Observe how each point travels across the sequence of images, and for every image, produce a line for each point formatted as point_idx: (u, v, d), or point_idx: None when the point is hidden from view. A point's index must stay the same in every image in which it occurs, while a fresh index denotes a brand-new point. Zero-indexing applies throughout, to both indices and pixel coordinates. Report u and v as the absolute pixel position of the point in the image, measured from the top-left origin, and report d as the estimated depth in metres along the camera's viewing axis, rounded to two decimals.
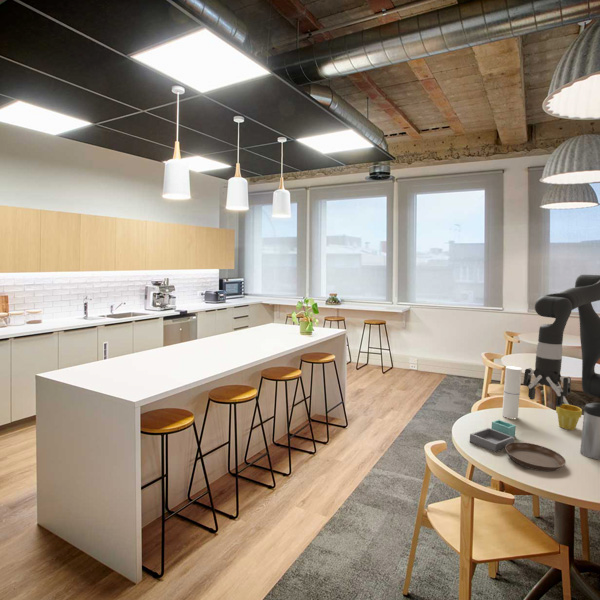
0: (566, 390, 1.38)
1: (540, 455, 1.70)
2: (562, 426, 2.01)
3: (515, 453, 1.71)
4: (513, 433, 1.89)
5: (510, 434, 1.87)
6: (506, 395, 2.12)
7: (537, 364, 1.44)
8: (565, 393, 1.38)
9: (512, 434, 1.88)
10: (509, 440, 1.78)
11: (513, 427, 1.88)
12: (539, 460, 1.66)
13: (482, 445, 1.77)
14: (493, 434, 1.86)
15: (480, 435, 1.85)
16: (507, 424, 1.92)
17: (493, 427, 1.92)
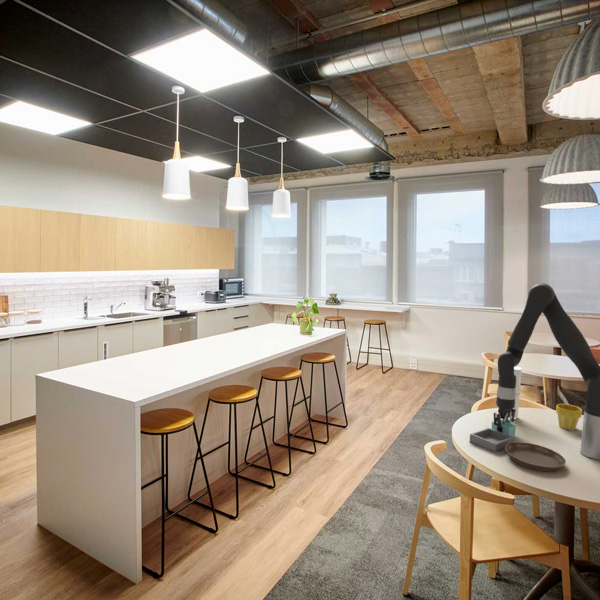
0: (513, 418, 1.93)
1: (540, 455, 1.70)
2: (562, 426, 2.01)
3: (515, 453, 1.71)
4: (513, 433, 1.89)
5: (510, 434, 1.87)
6: None
7: (510, 405, 1.86)
8: (513, 420, 1.93)
9: (512, 434, 1.88)
10: (509, 440, 1.78)
11: (513, 427, 1.88)
12: (539, 460, 1.66)
13: (482, 445, 1.77)
14: (493, 434, 1.86)
15: (480, 435, 1.85)
16: (507, 424, 1.92)
17: (493, 427, 1.92)
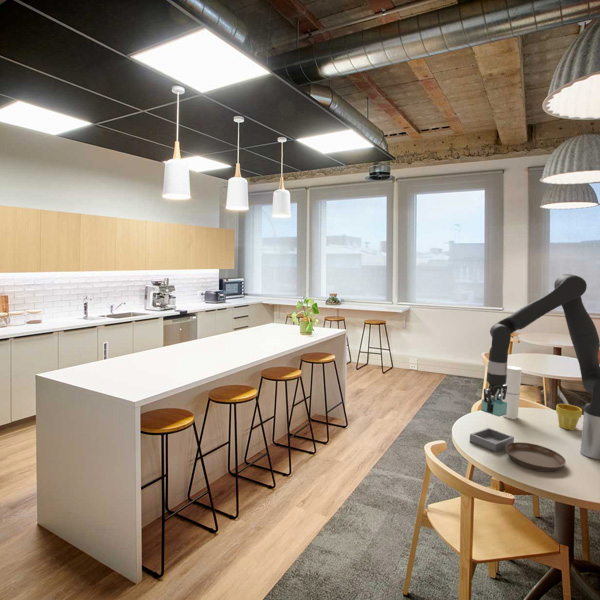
0: (505, 395, 1.81)
1: (540, 455, 1.70)
2: (562, 426, 2.01)
3: (515, 453, 1.71)
4: (504, 411, 1.77)
5: (501, 412, 1.76)
6: (506, 395, 2.12)
7: (501, 381, 1.75)
8: (504, 397, 1.81)
9: (503, 412, 1.77)
10: (509, 440, 1.78)
11: (504, 404, 1.77)
12: (539, 460, 1.66)
13: (482, 445, 1.77)
14: (493, 434, 1.86)
15: (480, 435, 1.85)
16: (498, 402, 1.80)
17: (483, 405, 1.80)
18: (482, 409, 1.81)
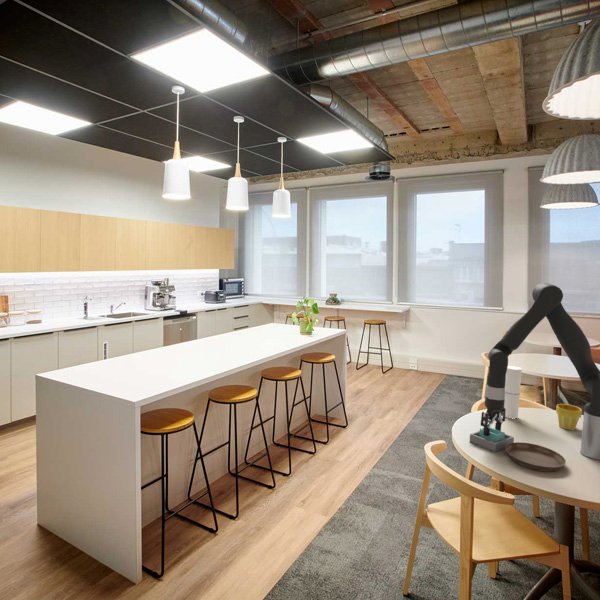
0: (504, 417, 1.83)
1: (540, 455, 1.70)
2: (562, 426, 2.01)
3: (515, 453, 1.71)
4: None
5: None
6: (506, 395, 2.12)
7: (499, 406, 1.76)
8: (504, 419, 1.83)
9: None
10: (509, 440, 1.78)
11: (502, 434, 1.78)
12: (539, 460, 1.66)
13: (482, 445, 1.77)
14: None
15: None
16: (496, 431, 1.81)
17: (481, 434, 1.82)
18: None
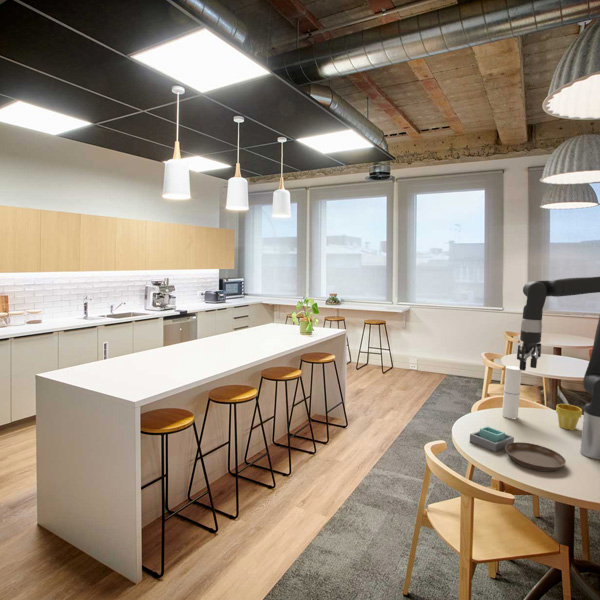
0: (540, 352, 1.79)
1: (540, 455, 1.70)
2: (562, 426, 2.01)
3: (515, 453, 1.71)
4: None
5: None
6: (506, 395, 2.12)
7: (536, 339, 1.71)
8: (540, 355, 1.79)
9: None
10: (509, 440, 1.78)
11: (502, 434, 1.78)
12: (539, 460, 1.66)
13: (482, 445, 1.77)
14: None
15: None
16: (496, 431, 1.81)
17: (481, 434, 1.82)
18: None
